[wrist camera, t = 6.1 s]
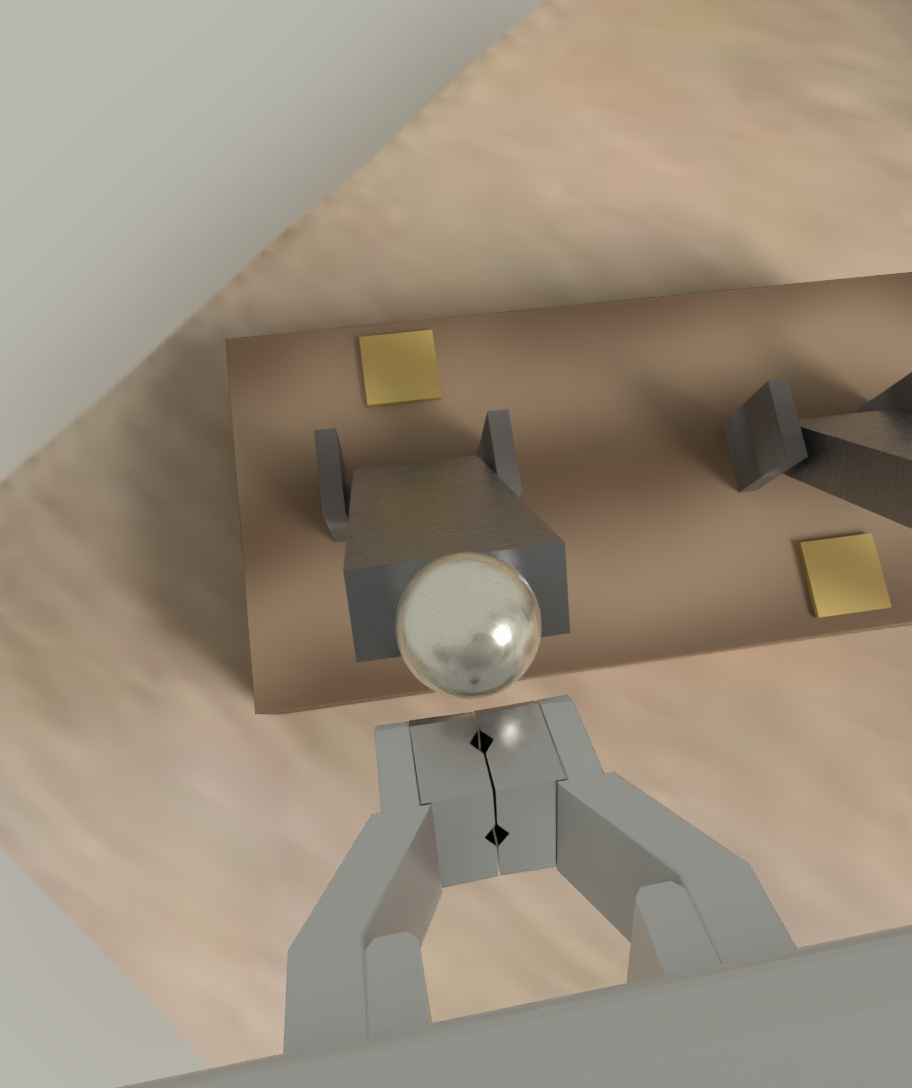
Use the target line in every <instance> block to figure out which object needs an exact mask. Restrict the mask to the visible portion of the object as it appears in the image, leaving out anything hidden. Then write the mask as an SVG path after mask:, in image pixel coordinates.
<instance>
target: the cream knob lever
mask: <svg viewBox="0 0 912 1088" xmlns="http://www.w3.org/2000/svg"><path fill="white" fill-rule="evenodd" d="M343 572H344V579H345V586H346V593H347V600H348V607H349V614H350V621H351V628H352V635H353V642H354V649H355V656H356V662H357V663H358V662H365V661H372V660H379V659H387V658H394V657H401V656H402V658H403V660H404V662H405V664H406V665H407V666H408V668H409V669H410V671H411V672H412V673H413V675H414V676H415V677H416V678H417V679H418V680H419V681H421V682H422V683H423V684H424V685H426V686H427V687H429V688H430V689H432V690H434V691H435V692H437V693H440V694H442V695H445V696H448V697H451V698H457V699H480V698H485V697H489V696H492V695H495V694H497V693H500V692H502V691H504V690H505V689H507V688H509V687H510V686H511V685H513V684H514V683H515V682H516V681H518V680H519V679H520V678H521V677H522V675H523V674H524V673H525V672H526V671H527V669H528V668H529V667H530V665H531V663H532V662H533V660H534V658H535V656H536V653H537V651H538V647H539V643H540V640H541V637H547V636H554V635H562V634H569V633H570V621H569V604H568V587H567V570H566V553H565V542H564V541H563V540H562V539H561V538H560V537H559V536H558V535H557V534H556V533H555V532H554V531H553V530H552V529H551V528H550V527H549V526H548V525H547V524H546V523H545V522H544V521H543V520H542V519H541V518H540V517H539V516H538V515H537V514H536V513H535V512H534V511H533V510H532V509H531V508H530V507H529V506H528V505H527V504H526V503H525V502H524V501H523V500H522V499H521V498H520V497H519V496H518V495H517V494H516V493H515V492H514V491H513V490H512V489H511V488H510V487H509V486H508V485H507V484H506V483H505V482H504V481H503V480H502V479H501V478H500V477H499V476H498V475H497V474H496V473H495V472H494V471H493V470H492V469H491V468H490V467H489V466H488V465H486V464H485V463H484V462H483V461H482V460H481V459H480V458H479V457H478V456H477V455H471V456H463V457H454V458H445V459H437V460H428V461H419V462H410V463H402V464H393V465H384V466H375V467H367V468H358V469H354V470H353V480H352V490H351V499H350V509H349V519H348V528H347V538H346V548H345V557H344V567H343Z"/></svg>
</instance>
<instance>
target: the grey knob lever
mask: <svg viewBox="0 0 912 1088" xmlns="http://www.w3.org/2000/svg"><path fill="white" fill-rule="evenodd" d="M799 423H800V427H801V431H802V435H803V439H804V443H805V447H806V450H807V454H808V457H807V458H805V459H804V460H802V461H801V462H799V463H798V464H796V465H795V466H793V467H792V468H790V469H789V470H787V471H786V472H784V473H782V474H784V475H787V476H789V477H791V478H794V479H796V480H799V481H801V482H803V483H806V484H808V485H810V486H813V487H815V488H817V489H820V490H822V491H824V492H827V493H829V494H831V495H834V496H836V497H838V498H841V499H843V500H845V501H848V502H850V503H852V504H855V505H857V506H859V507H862V508H864V509H866V510H869V511H871V512H873V513H876V514H878V515H880V516H883V517H885V518H887V519H890V520H892V521H894V522H897V523H899V524H901V525H904V526H906V527H908V528H911V529H912V412H908V411H903V410H899V409H887V410H878V411H869V412H861V413H852V414H843V415H834V416H826V417H817V418H808V419H800V420H799Z"/></svg>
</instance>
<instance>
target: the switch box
mask: <svg viewBox="0 0 912 1088" xmlns="http://www.w3.org/2000/svg"><path fill="white" fill-rule="evenodd" d="M226 350H227V363H228V376H229V388H230V401H231V413H232V426H233V439H234V451H235V464H236V477H237V489H238V502H239V514H240V527H241V540H242V552H243V565H244V577H245V590H246V603H247V615H248V628H249V640H250V653H251V666H252V678H253V691H254V703H255V714H286V713H293V712H300V711H307V710H314V709H321V708H328V707H335V706H342V705H349V704H356V703H364V702H371V701H378V700H385V699H392V698H399V697H406V696H413V695H420V694H427V693H434V692H435V691H434V690H432V689H430V688H429V687H427V686H426V685H424V684H423V683H422V682H421V681H419V680H418V679H417V678H416V677H415V676H414V675H413V673H412V672H411V671H410V669H409V668H408V666H407V665H406V664H405V662H404V660H403V658H402V656H401V657H394V658H387V659H379V660H372V661H365V662H358V663H357V662H356V656H355V649H354V642H353V635H352V628H351V621H350V614H349V607H348V600H347V593H346V586H345V579H344V572H343V567H344V557H345V548H346V538H347V528H348V519H349V509H350V499H351V490H352V480H353V470H354V469H358V468H367V467H375V466H384V465H393V464H402V463H410V462H419V461H428V460H437V459H445V458H454V457H463V456H471V455H477V456H478V457H479V458H480V459H481V460H482V461H483V462H484V463H485V464H486V465H488V466H489V467H490V468H491V469H492V470H493V471H494V472H495V473H496V474H497V475H498V476H499V477H500V478H501V479H502V480H503V481H504V482H505V483H506V484H507V485H508V486H509V487H510V488H511V489H512V490H513V491H514V492H515V493H516V494H517V495H518V496H519V497H520V498H521V499H522V500H523V501H524V502H525V503H526V504H527V505H528V506H529V507H530V508H531V509H532V510H533V511H534V512H535V513H536V514H537V515H538V516H539V517H540V518H541V519H542V520H543V521H544V522H545V523H546V524H547V525H548V526H549V527H550V528H551V529H552V530H553V531H554V532H555V533H556V534H557V535H558V536H559V537H560V538H561V539H562V540H563V541H564V542H565V553H566V570H567V587H568V604H569V621H570V633H569V634H562V635H554V636H547V637H541V640H540V643H539V647H538V651H537V653H536V656H535V658H534V660H533V662H532V663H531V665H530V667H529V668H528V669H527V671H526V672H525V673H524V674H523V675H522V677H521V678H520V679H519V680H525V679H532V678H540V677H547V676H554V675H561V674H568V673H575V672H582V671H589V670H596V669H603V668H610V667H617V666H624V665H631V664H638V663H645V662H652V661H659V660H666V659H673V658H680V657H687V656H694V655H701V654H708V653H715V652H723V651H730V650H737V649H744V648H751V647H758V646H765V645H772V644H779V643H786V642H793V641H800V640H807V639H814V638H821V637H828V636H835V635H842V634H849V633H856V632H863V631H870V630H877V629H884V628H891V627H899V626H906V625H912V529H911V528H908V527H906V526H904V525H901V524H899V523H897V522H894V521H892V520H890V519H887V518H885V517H883V516H880V515H878V514H876V513H873V512H871V511H869V510H866V509H864V508H862V507H859V506H857V505H855V504H852V503H850V502H848V501H845V500H843V499H841V498H838V497H836V496H834V495H831V494H829V493H827V492H824V491H822V490H820V489H817V488H815V487H813V486H810V485H808V484H806V483H803V482H801V481H799V480H796V479H794V478H791V477H789V476H787V475H784V474H782V473H784V472H786V471H787V470H789V469H790V468H792V467H793V466H795V465H796V464H798V463H799V462H801V461H802V460H804V459H805V458H807V457H808V454H807V450H806V447H805V443H804V439H803V435H802V431H801V427H800V423H799V420H800V419H808V418H817V417H826V416H834V415H843V414H852V413H861V412H869V411H878V410H887V409H899V410H903V411H908V412H912V272H907V273H897V274H887V275H877V276H867V277H856V278H846V279H836V280H826V281H816V282H805V283H795V284H785V285H775V286H764V287H754V288H744V289H734V290H724V291H713V292H703V293H693V294H683V295H672V296H662V297H652V298H642V299H632V300H621V301H611V302H601V303H591V304H580V305H570V306H560V307H550V308H540V309H529V310H519V311H509V312H499V313H489V314H478V315H468V316H458V317H448V318H437V319H427V320H417V321H407V322H397V323H386V324H376V325H366V326H356V327H345V328H335V329H325V330H315V331H305V332H294V333H284V334H274V335H264V336H254V337H243V338H233V339H226Z"/></svg>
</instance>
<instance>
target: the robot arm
mask: <svg viewBox="0 0 912 1088" xmlns="http://www.w3.org/2000/svg"><path fill="white" fill-rule="evenodd" d="M409 727H410V731H409ZM410 736H411V738H410ZM411 743H412V744H411ZM375 744H376V756H377V767H378V779H379V790H380V802H381V813H377V814H372V815H371V816H370V818H369V820H368V821H367V823H366V825H365V826H364V828H363V829H362V831H361V833H360V834H359V836H358V838H357V839H356V841H355V842H354V844H353V846H352V847H351V849H350V851H349V852H348V854H347V856H346V857H345V859H344V860H343V862H342V864H341V865H340V867H339V869H338V870H337V872H336V873H335V875H334V877H333V878H332V880H331V882H330V883H329V885H328V886H327V888H326V890H325V891H324V893H323V895H322V896H321V898H320V899H319V901H318V903H317V904H316V906H315V908H314V909H313V911H312V913H311V914H310V916H309V917H308V919H307V921H306V922H305V924H304V926H303V927H302V929H301V930H300V932H299V934H298V935H297V937H296V939H295V940H294V942H293V943H292V945H291V947H290V948H289V950H288V961H287V984H286V1006H285V1029H284V1052H283V1054H279V1055H274V1056H270V1057H265V1058H260V1059H255V1060H250V1061H245V1062H240V1063H235V1064H231V1065H226V1066H221V1067H216V1068H211V1069H206V1070H201V1071H197V1072H191V1073H187V1074H182V1075H177V1076H173V1077H167V1078H163V1079H157V1080H152V1081H147V1082H143V1083H138V1084H133V1085H128V1086H123V1087H118V1088H912V925H908V926H903V927H898V928H893V929H889V930H884V931H879V932H874V933H869V934H864V935H859V936H854V937H850V938H845V939H840V940H835V941H830V942H825V943H820V944H815V945H810V946H806V947H801V948H797V947H796V946H795V944H794V942H793V940H792V939H791V937H790V935H789V933H788V932H787V930H786V928H785V926H784V924H783V923H782V921H781V919H780V917H779V916H778V914H777V912H776V910H775V909H774V907H773V905H772V903H771V902H770V900H769V898H768V896H767V894H766V893H765V891H764V889H763V887H762V886H761V884H760V882H759V880H758V879H757V877H756V875H755V873H754V872H753V870H752V868H751V866H750V864H749V863H747V862H746V861H744V860H743V859H741V858H740V857H738V856H737V855H735V854H734V853H732V852H731V851H729V850H728V849H726V848H725V847H723V846H722V845H721V844H719V843H718V842H716V841H715V840H713V839H712V838H710V837H709V836H707V835H706V834H704V833H703V832H701V831H700V830H698V829H697V828H695V827H694V826H693V825H691V824H690V823H688V822H687V821H685V820H684V819H682V818H681V817H679V816H678V815H676V814H675V813H673V812H672V811H670V810H669V809H667V808H666V807H665V806H663V805H662V804H660V803H659V802H657V801H656V800H654V799H653V798H651V797H650V796H648V795H647V794H645V793H644V792H642V791H641V790H639V789H638V788H637V787H635V786H634V785H632V784H631V783H629V782H628V781H626V780H625V779H623V778H622V777H620V776H619V775H617V774H616V773H614V772H612V773H605V774H604V771H603V769H602V767H601V764H600V762H599V760H598V757H597V755H596V753H595V751H594V748H593V746H592V744H591V741H590V739H589V737H588V734H587V732H586V730H585V727H584V725H583V723H582V721H581V718H580V716H579V714H578V711H577V709H576V707H575V704H574V702H573V700H572V698H571V697H569V696H568V695H564V696H558V697H552V698H547V699H541V700H537V701H530V702H525V703H519V704H513V705H507V706H501V707H496V708H490V709H484V710H478V711H474V712H473V713H472V712H468V713H461V714H454V715H447V716H439V717H432V718H425V719H418V720H411V721H409V725H408V722H402V723H394V724H387V725H379V726H375ZM412 750H413V751H412ZM497 862H498V867H499V871H500V875H507V874H514V873H520V872H526V871H533V870H539V869H545V868H552V867H557V870H558V871H559V872H560V873H561V874H562V875H563V876H564V877H565V878H566V879H567V880H568V881H569V882H570V883H571V884H572V885H573V886H574V887H575V888H576V889H577V890H578V891H579V892H580V893H581V894H582V895H583V896H584V897H585V898H586V899H587V900H588V901H589V902H590V903H591V904H592V905H593V906H594V907H595V908H596V909H597V910H598V911H599V912H600V913H601V914H602V915H603V916H604V917H605V918H606V919H607V920H608V921H609V922H610V923H611V924H612V925H613V926H614V927H615V928H616V929H617V930H618V931H619V932H620V933H621V934H622V935H623V936H624V937H625V938H626V939H627V940H628V941H629V942H630V943H631V947H630V957H629V967H628V976H627V983H626V984H621V985H616V986H611V987H606V988H601V989H597V990H592V991H587V992H582V993H577V994H572V995H567V996H562V997H558V998H553V999H548V1000H543V1001H538V1002H533V1003H528V1004H523V1005H519V1006H514V1007H509V1008H504V1009H499V1010H494V1011H489V1012H484V1013H480V1014H475V1015H470V1016H465V1017H460V1018H455V1019H450V1020H445V1021H440V1022H436V1023H432V1019H431V1013H430V1006H429V1000H428V994H427V987H426V981H425V974H424V968H423V962H422V955H421V949H420V947H421V945H422V942H423V940H424V937H425V935H426V932H427V930H428V927H429V925H430V922H431V920H432V917H433V915H434V912H435V909H436V907H437V904H438V902H439V899H440V897H441V894H442V892H443V891H442V888H445V887H449V886H454V885H459V884H463V883H468V882H472V881H477V880H482V879H486V878H491V877H496V876H498V868H497Z"/></svg>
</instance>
